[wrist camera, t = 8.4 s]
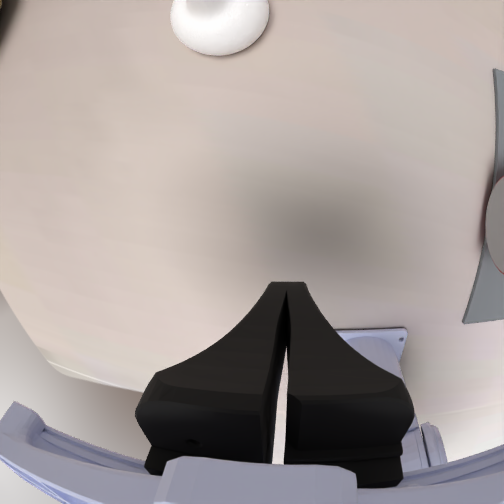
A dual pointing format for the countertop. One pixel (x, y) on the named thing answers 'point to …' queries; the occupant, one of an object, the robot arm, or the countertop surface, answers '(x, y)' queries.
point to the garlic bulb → (219, 24)
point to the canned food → (496, 225)
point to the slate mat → (488, 276)
